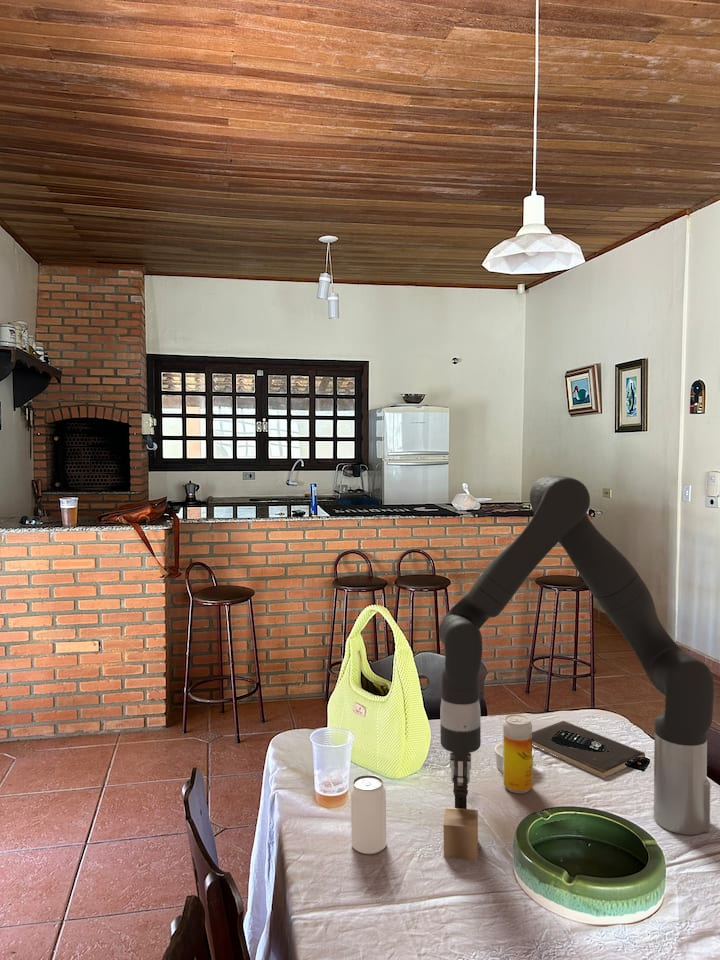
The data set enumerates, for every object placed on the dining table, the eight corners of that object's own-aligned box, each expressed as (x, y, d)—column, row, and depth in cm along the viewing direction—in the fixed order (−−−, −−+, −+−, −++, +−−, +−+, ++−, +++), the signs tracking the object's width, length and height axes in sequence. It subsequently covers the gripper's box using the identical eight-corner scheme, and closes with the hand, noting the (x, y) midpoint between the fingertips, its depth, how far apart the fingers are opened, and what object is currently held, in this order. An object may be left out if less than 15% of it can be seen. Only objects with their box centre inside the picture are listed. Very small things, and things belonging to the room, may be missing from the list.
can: (361, 859, 122) (360, 794, 122) (345, 841, 128) (344, 778, 127) (392, 849, 125) (392, 785, 125) (375, 831, 131) (375, 770, 130)
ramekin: (539, 765, 157) (539, 746, 157) (526, 781, 150) (526, 762, 150) (502, 756, 162) (502, 738, 162) (488, 771, 155) (488, 752, 154)
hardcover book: (603, 781, 150) (603, 771, 150) (522, 744, 169) (522, 735, 169) (645, 761, 159) (645, 751, 159) (564, 728, 178) (564, 719, 178)
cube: (477, 809, 127) (477, 827, 121) (477, 841, 127) (477, 860, 122) (445, 807, 128) (443, 824, 122) (445, 838, 129) (443, 857, 123)
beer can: (532, 795, 143) (532, 726, 143) (503, 793, 145) (503, 724, 144) (531, 781, 149) (531, 714, 149) (503, 779, 151) (502, 712, 150)
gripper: (481, 737, 122) (481, 831, 123) (479, 708, 135) (480, 794, 136) (439, 735, 123) (439, 828, 124) (441, 707, 136) (442, 791, 137)
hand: (460, 810), depth 130 cm, fingers closed
